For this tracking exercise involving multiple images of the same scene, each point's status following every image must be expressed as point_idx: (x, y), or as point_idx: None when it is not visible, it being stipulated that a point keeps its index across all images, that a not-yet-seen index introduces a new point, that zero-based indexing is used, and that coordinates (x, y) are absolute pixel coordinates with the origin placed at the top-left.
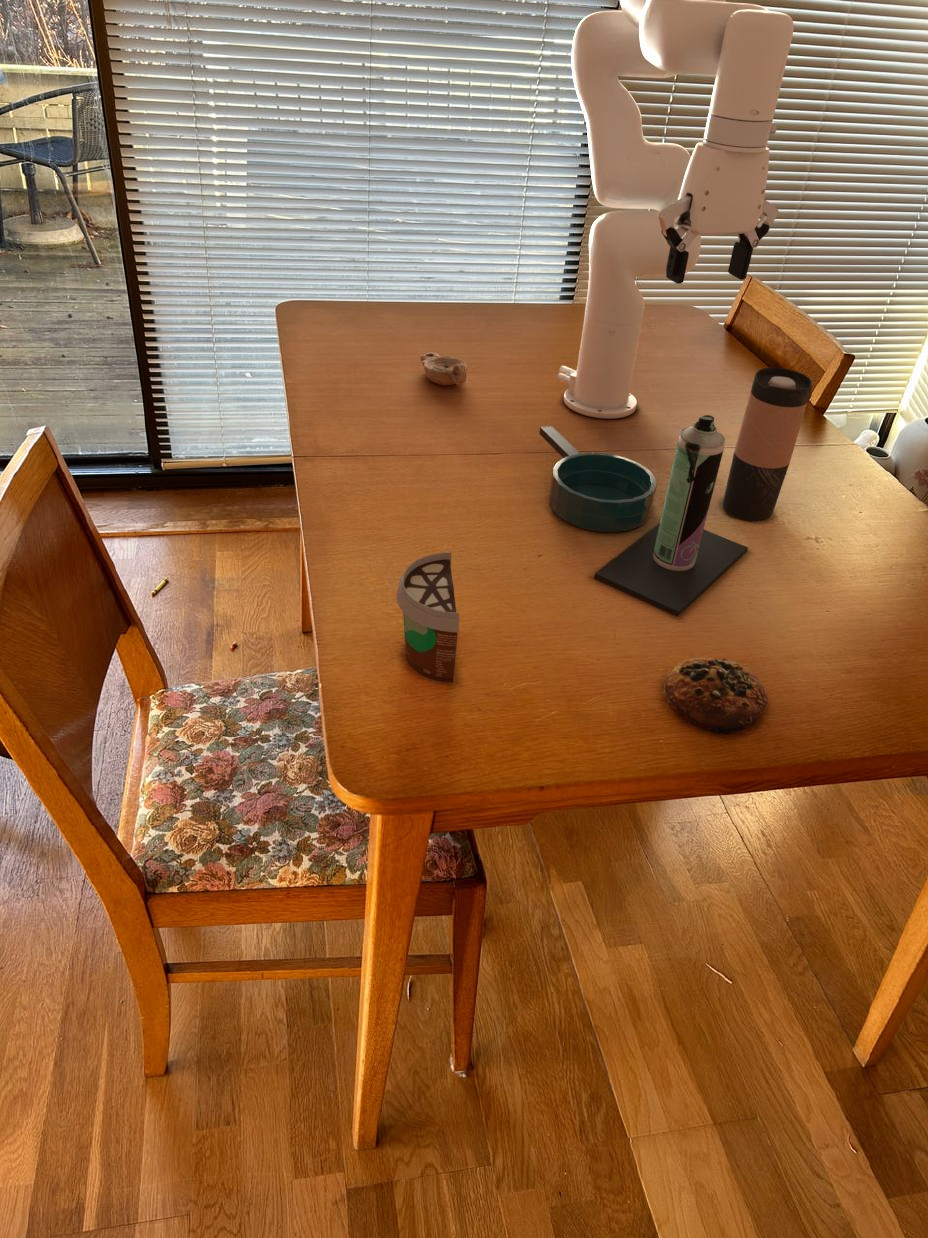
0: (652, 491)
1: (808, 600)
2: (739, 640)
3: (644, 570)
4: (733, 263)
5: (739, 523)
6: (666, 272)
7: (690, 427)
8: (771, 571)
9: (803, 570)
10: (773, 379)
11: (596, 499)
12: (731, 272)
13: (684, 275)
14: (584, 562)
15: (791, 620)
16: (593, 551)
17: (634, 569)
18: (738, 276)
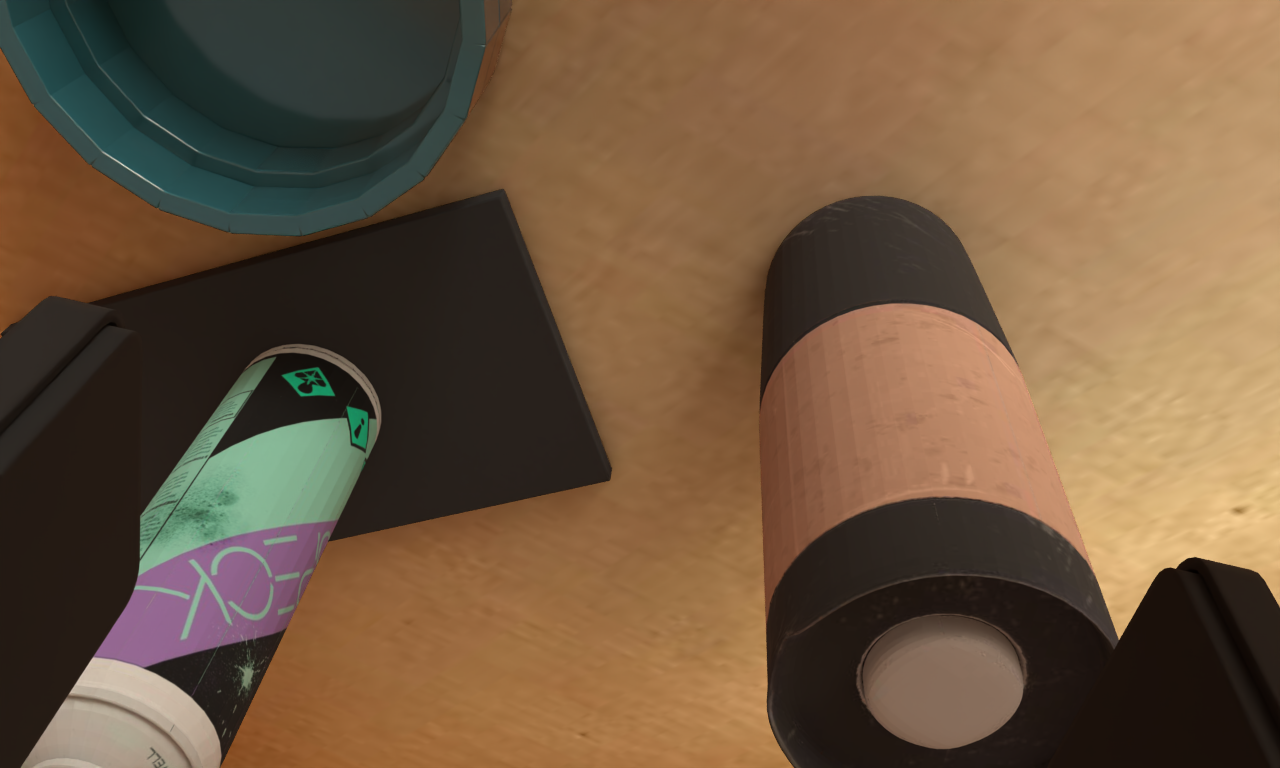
0: (362, 215)
1: (577, 689)
2: (264, 693)
3: (174, 401)
4: (1171, 739)
5: (748, 339)
6: (35, 309)
7: (47, 739)
8: (597, 566)
9: (696, 608)
10: (901, 667)
11: (79, 145)
12: (1133, 639)
13: (95, 652)
14: (23, 239)
15: (458, 711)
16: (90, 203)
17: (143, 382)
18: (1065, 756)
